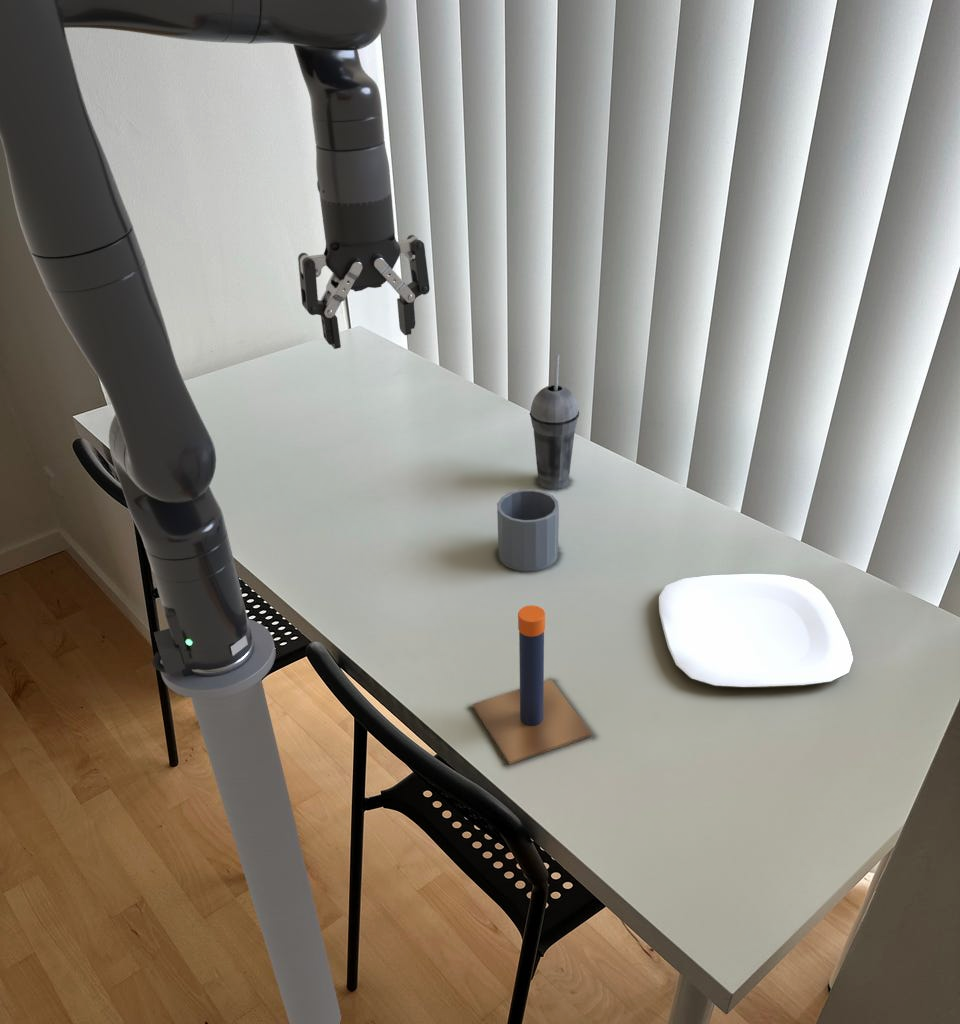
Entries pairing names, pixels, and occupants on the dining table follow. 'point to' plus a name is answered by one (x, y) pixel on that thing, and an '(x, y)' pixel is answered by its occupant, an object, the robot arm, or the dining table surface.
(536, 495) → the pot
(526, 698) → the marker
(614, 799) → the dining table surface
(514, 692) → the mat
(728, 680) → the plate
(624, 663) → the dining table surface
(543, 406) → the beverage cup
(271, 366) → the dining table surface
